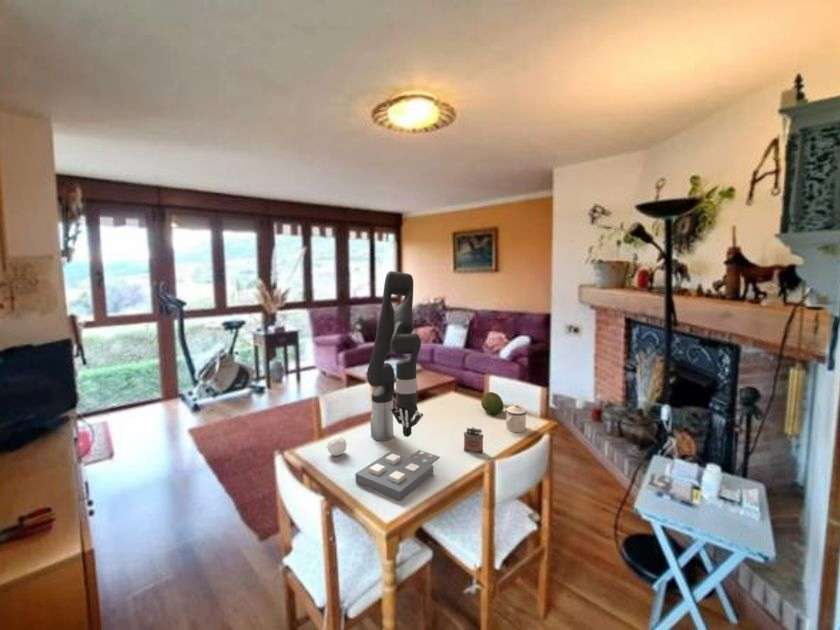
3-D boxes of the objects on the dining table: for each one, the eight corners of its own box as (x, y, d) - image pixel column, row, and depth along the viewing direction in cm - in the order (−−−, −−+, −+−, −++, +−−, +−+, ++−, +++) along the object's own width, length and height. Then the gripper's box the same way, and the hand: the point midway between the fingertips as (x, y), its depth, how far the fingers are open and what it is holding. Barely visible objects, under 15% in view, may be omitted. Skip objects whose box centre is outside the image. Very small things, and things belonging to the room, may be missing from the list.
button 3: (369, 474, 143) (369, 468, 143) (376, 470, 147) (376, 463, 146) (377, 478, 141) (377, 471, 141) (385, 473, 144) (385, 466, 144)
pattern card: (407, 458, 159) (407, 457, 159) (418, 450, 166) (418, 449, 166) (428, 465, 154) (428, 464, 154) (439, 457, 160) (439, 456, 160)
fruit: (491, 406, 214) (491, 388, 213) (510, 413, 204) (510, 394, 203) (476, 411, 207) (476, 393, 205) (495, 419, 197) (495, 399, 196)
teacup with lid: (511, 422, 192) (512, 399, 191) (529, 428, 186) (530, 404, 185) (498, 431, 183) (499, 406, 182) (516, 436, 178) (517, 411, 176)
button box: (355, 482, 143) (355, 473, 142) (391, 459, 159) (390, 451, 159) (400, 501, 132) (399, 491, 131) (433, 474, 148) (433, 465, 147)
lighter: (462, 451, 165) (462, 428, 163) (464, 447, 168) (465, 425, 166) (482, 454, 162) (482, 431, 160) (483, 451, 165) (484, 428, 164)
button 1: (385, 464, 151) (385, 457, 150) (392, 459, 154) (392, 453, 154) (394, 467, 148) (393, 460, 148) (400, 462, 152) (400, 456, 151)
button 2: (404, 474, 146) (404, 467, 145) (411, 469, 149) (411, 463, 149) (413, 477, 143) (413, 470, 143) (420, 472, 147) (420, 466, 146)
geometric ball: (340, 462, 163) (341, 453, 157) (323, 454, 164) (323, 444, 158) (349, 446, 168) (350, 436, 163) (332, 438, 169) (333, 429, 164)
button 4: (388, 482, 138) (388, 475, 138) (396, 477, 142) (396, 470, 141) (398, 486, 136) (397, 479, 136) (405, 481, 139) (405, 474, 139)
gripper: (385, 389, 142) (386, 435, 145) (415, 396, 135) (416, 444, 137) (398, 383, 148) (398, 427, 151) (428, 389, 141) (428, 436, 143)
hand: (407, 435), depth 144 cm, fingers closed
